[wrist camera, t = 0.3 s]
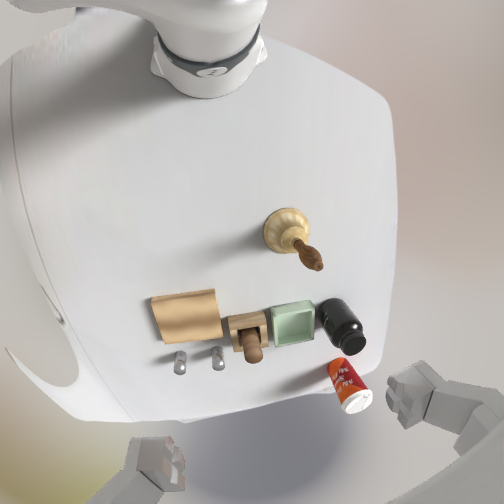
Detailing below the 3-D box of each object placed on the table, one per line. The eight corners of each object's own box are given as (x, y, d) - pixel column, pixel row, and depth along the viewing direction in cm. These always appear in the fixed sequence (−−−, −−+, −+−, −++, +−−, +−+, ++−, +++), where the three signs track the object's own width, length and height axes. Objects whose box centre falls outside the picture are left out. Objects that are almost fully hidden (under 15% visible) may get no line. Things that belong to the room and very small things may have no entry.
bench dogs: (174, 351, 54) (172, 367, 49) (222, 345, 55) (223, 361, 50) (177, 359, 54) (175, 375, 50) (223, 353, 55) (225, 369, 51)
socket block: (227, 316, 52) (228, 325, 49) (263, 310, 53) (266, 319, 50) (232, 343, 55) (234, 352, 52) (265, 337, 55) (268, 346, 53)
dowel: (238, 322, 53) (243, 352, 45) (254, 320, 53) (262, 349, 45) (240, 334, 54) (246, 364, 46) (256, 332, 54) (263, 361, 46)
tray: (270, 307, 53) (273, 315, 50) (309, 299, 53) (314, 307, 51) (272, 338, 56) (275, 347, 53) (309, 331, 56) (313, 339, 54)
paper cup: (332, 353, 60) (355, 394, 47) (356, 355, 62) (380, 393, 49) (318, 375, 63) (336, 416, 50) (341, 376, 64) (362, 414, 52)
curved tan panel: (152, 295, 49) (150, 302, 47) (214, 287, 50) (214, 293, 48) (166, 336, 53) (164, 344, 50) (222, 329, 54) (223, 337, 51)
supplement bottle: (311, 308, 54) (333, 345, 43) (339, 291, 54) (366, 324, 43) (322, 329, 57) (344, 365, 46) (349, 313, 57) (374, 346, 45)
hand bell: (253, 238, 47) (274, 281, 32) (280, 198, 45) (314, 223, 31) (291, 260, 50) (323, 307, 35) (317, 223, 48) (360, 256, 33)
